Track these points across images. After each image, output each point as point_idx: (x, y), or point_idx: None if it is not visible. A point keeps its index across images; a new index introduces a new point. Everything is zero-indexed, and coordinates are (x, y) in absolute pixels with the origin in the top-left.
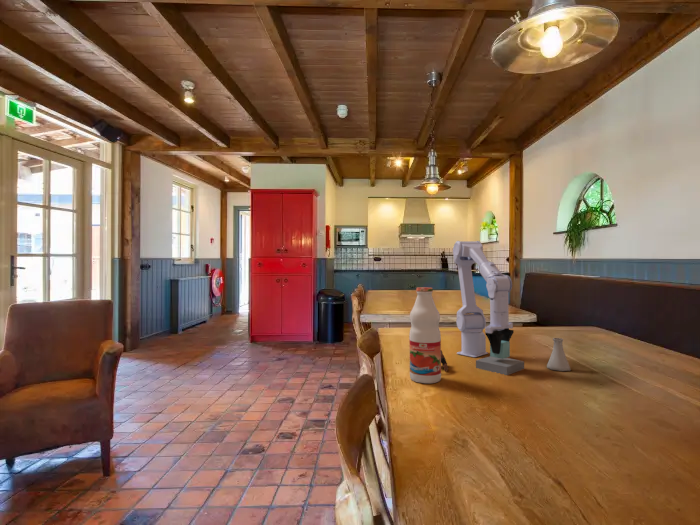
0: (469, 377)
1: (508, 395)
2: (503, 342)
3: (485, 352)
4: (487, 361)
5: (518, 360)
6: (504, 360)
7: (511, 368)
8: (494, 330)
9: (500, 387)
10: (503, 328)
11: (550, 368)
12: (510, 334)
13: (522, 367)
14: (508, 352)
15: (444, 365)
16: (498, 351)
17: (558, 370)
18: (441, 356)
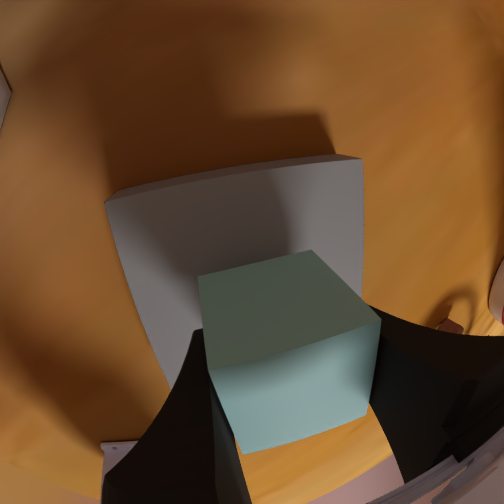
0: (459, 230)
1: (487, 41)
2: (322, 360)
3: (111, 449)
4: None
5: (123, 240)
6: None
7: (294, 162)
8: (496, 437)
9: (469, 85)
10: (500, 459)
11: (2, 111)
12: (195, 457)
13: (137, 187)
14: (224, 291)
15: (461, 332)
16: None
17: (1, 71)
18: None
